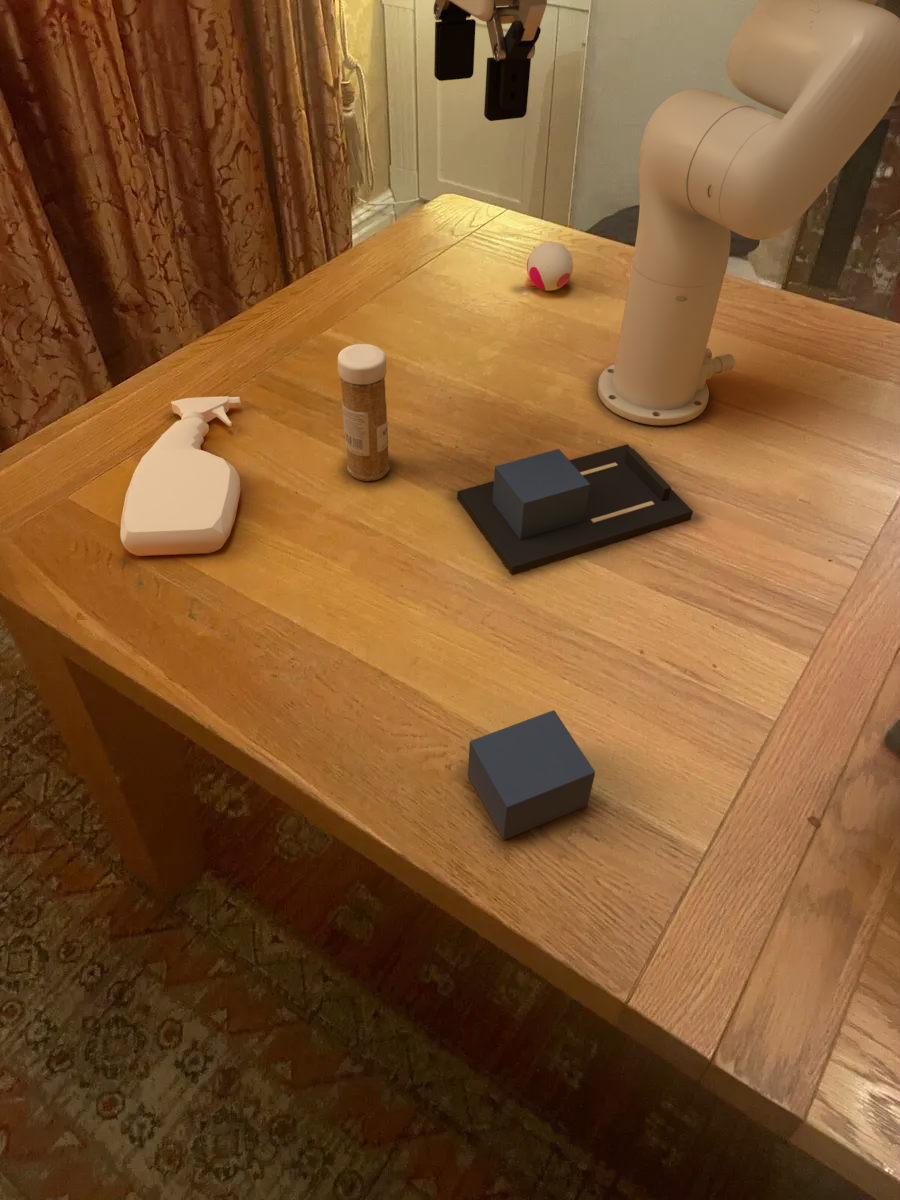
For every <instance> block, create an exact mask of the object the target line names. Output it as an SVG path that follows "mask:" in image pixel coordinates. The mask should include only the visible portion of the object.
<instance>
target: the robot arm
mask: <svg viewBox="0 0 900 1200" xmlns="http://www.w3.org/2000/svg"><path fill="white" fill-rule="evenodd" d="M877 2H878V0H758V1H757V2H756V3H755V4H754V6H753V8H752V9H751V11H750V12H749V13H748V15H747V16H746V17H745V19H744V20H743V22H742V23H741V25H740V26H739V28H738V30H737V31H736V33H735V34H734V36H733V38H732V40H731V43H730V45H729V47H728V51H727V54H726V61H725V62H726V65H725V66H726V73H727V76H728V78H729V80H730V83H731V84H732V86H734V87H735V88H736V90H737V91H739V92H740V93H741V94H742V95H744V96H746V97H748V98H749V99H751V100H753V101H754V102H757V103H759V104H761V105H763V106H765V107H767V108H770V109H772V110H775V111H778V112H780V113H782V114H784V116H783V117H782V118H778V117H777V116H774V115H771V114H768V113H766V112H764V111H761V110H760V109H757V108H756V107H754V106H751V105H749V104H746V103H744V102H741V101H739V100H737V99H735V98H732V97H730V96H726V95H725V94H722V93H719V92H716V91H711V90H708V89H707V90H706V89H697V88H696V89H688V90H687V89H686V90H682V91H680V92H677V93H675V94H672V95H671V96H669V97H668V98H666V99H665V100H663V102H662V103H660V105H659V106H658V107H657V108H656V109H655V110H654V111H653V113H652V115H651V116H650V117H649V119H648V122H647V124H646V126H645V129H644V131H643V134H642V139H641V142H640V147H639V158H638V177H639V178H638V179H639V180H638V181H639V211H638V212H639V213H638V222H637V230H636V231H637V232H636V237H635V244H634V250H633V254H632V255H633V256H632V260H631V266H630V273H629V278H628V284H627V290H626V297H625V301H624V308H623V313H622V314H623V315H622V320H621V325H620V333H619V338H618V343H617V344H618V345H617V351H616V355H615V362H614V363H613V364H611V365H609V366H608V367H606V368H605V369H604V370H603V371H602V372H601V374H600V375H599V378H598V383H597V390H596V391H597V395H598V397H599V400H600V401H601V402H602V403H603V405H604V406H605V407H606V408H607V409H609V410H610V411H611V412H612V413H614V414H616V415H617V416H620V417H621V418H623V419H625V420H629V421H632V422H635V423H639V424H643V425H650V426H672V425H673V426H674V425H679V424H683V423H687V422H689V421H692V420H694V419H695V418H697V417H699V416H700V415H702V413H703V412H704V411H705V410H706V408H707V406H708V402H709V397H710V390H709V387H708V385H707V383H706V381H707V380H709V379H711V378H712V377H713V376H714V375H715V374H723V373H726V372H730V371H733V370H734V368H735V365H736V361H735V358H734V355H732V354H731V353H726V354H722V355H718V356H715V357H713V358H712V356H713V354H712V352H713V351H712V349H711V348H709V347H708V344H709V341H710V340H709V339H710V335H711V332H712V327H713V324H714V320H715V315H716V311H717V307H718V302H719V299H720V295H721V291H722V286H723V283H724V280H725V279H724V278H725V275H726V272H727V268H728V264H729V259H730V253H731V239H732V238H731V236H732V235H731V232H733V233H735V234H737V235H740V236H742V237H744V238H747V239H750V240H754V241H764V240H769V239H773V238H775V237H777V236H779V235H782V233H784V232H786V231H787V230H788V229H789V228H791V227H792V226H793V225H794V224H795V223H796V222H797V221H798V220H799V219H800V218H801V217H802V216H803V215H804V214H805V213H806V212H807V210H809V209H810V207H811V206H812V205H813V203H815V201H816V200H817V199H818V198H819V196H821V194H822V193H823V191H824V190H825V189H826V188H827V187H828V186H829V184H830V183H831V182H832V180H833V179H834V178H835V177H836V176H837V175H838V173H839V172H840V171H841V170H842V168H843V167H844V166H845V165H846V164H847V162H848V161H849V160H850V159H851V157H852V156H853V155H854V154H855V153H856V152H857V150H858V149H859V148H860V147H861V146H862V144H863V143H864V142H865V140H866V139H867V138H868V137H869V136H870V134H871V133H872V132H873V131H874V129H875V128H876V127H877V126H878V124H879V123H880V122H881V120H882V119H883V118H884V117H885V115H886V114H887V113H888V110H889V109H890V107H891V105H892V104H893V102H894V101H895V99H896V97H897V95H898V93H899V91H900V17H898V16H897V15H896V14H895V13H893V12H891V11H890V10H887V9H885V8H883V7H881V6H877V5H876V3H877ZM547 4H548V0H434V3H433V17H434V20H435V21H434V61H433V62H434V66H433V68H434V69H433V75H434V78H435V79H436V80H437V81H439V82H444V81H445V82H446V81H454V80H455V81H456V80H465V79H471V78H472V77H473V76H474V70H475V69H474V68H475V48H476V47H475V46H476V27H477V21H476V20H475V19H474V18H476V19H478V20H480V21H482V22H485V24H486V26H487V27H486V28H487V32H488V33H487V34H488V37H489V43H490V47H491V51H492V56H493V57H492V56H491V57H486V71H485V73H486V74H485V91H484V92H485V93H484V108H483V109H484V110H483V116H484V118H485V119H486V120H488V121H490V122H495V121H505V120H514V119H523V118H524V117H525V116H526V114H527V113H528V112H527V110H528V100H529V87H530V75H531V63H532V59H533V58H534V56H535V54H536V43H537V42H538V40H539V38H540V36H541V31H542V30H541V29H542V28H541V24H542V21H543V18H544V15H545V12H546V9H547ZM471 16H473V17H474V18H471ZM508 24H510V26H509V27H508V30H507V31H506V33H505V34H504V30H503V25H508Z"/></svg>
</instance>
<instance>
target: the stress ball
mask: <svg viewBox="0 0 900 1200" xmlns="http://www.w3.org/2000/svg"><path fill="white" fill-rule="evenodd" d="M573 270H574V261H573V257H572V254H571V253H570V251H569V250H568V248H567V247H565V246H564V245H563V244H561V243H559V242H556V241H545V242H542V243H540V244H538V245H537V246H536V247H535V246H533V249H532V250H531V252H530V253H529V255H528V257H527V262H526V272H527V275H528V278H529V280H530V281H531V283H532V284H533V285H528V286H522V287H521V288H522V289H523V288H524V289H525V288H538V289H540V290H543V291H546V292H547V291H548V292H549V291H550V292H551V291H555V290H558V289H560V288H563V287H564V286H566V287H567V288H568V281H570V279H571V277H572V274H573Z"/></svg>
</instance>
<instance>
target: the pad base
mask: <svg viewBox="0 0 900 1200" xmlns="http://www.w3.org/2000/svg"><path fill="white" fill-rule="evenodd" d="M493 474H494V475H493V481H488V482H485V483H482V484H478V485H475V486H471V487H467V488H464V489H461V490H457V500H458V502H459V504H460V505H461V506H462V507H463V508H464V510H465V512H466V513H467V515H468V516H469V517H470V518H471V520H472V521H473V523H474V524H475V526H476V527H477V528H478V530H479V531H480V532H481V534H482V535H483V536H484V538H485V539H486V541H487V542H488V545H490V546H491V548H492V549H493V551H494V552H495V553H496V555H497V556H498V558H499V559H500V561H501V562H502V563H503V565H504V566H505V568H506V569H507V570H508V572H509V573H510V575H515V574H518V573H523V572H525V571H528V570H531V569H534V568H537V567H538V568H539V567H541V566H544V565H547V564H550V563H553V562H556V561H560V560H563V559H566V558H570V557H573V556H576V555H579V554H582V553H586V552H589V551H591V550H595V549H599V548H602V547H604V546H605V547H606V546H609V545H612V544H614V543H618V542H620V541H621V542H622V541H624V540H627V539H630V538H634V537H636V536H639V535H643V534H646V533H650V532H652V531H656V530H660V529H663V528H665V527H668V526H672V525H675V524H679V523H681V522H684V521H688V520H691V519H692V516H693V512H694V511H693V509H691V508H690V506H689V505H688V504H687V503H686V502H685V501H684V500H683V499H682V498H681V497H680V496H679V495H678V494H677V493H676V492H675V491H674V490H673V489H672V486H671V485H669V483H667V481H666V480H665V479H664V478H663V477H662V476H661V475H660V474H659V473H658V472H657V471H656V470H655V469H654V468H653V467H652V466H651V465H650V464H649V463H648V461H646V460H645V459H644V457H642V456H641V455H640V454H639V453H638V452H637V450H635V448H632V446H630V445H629V444H627V443H626V444H624V445H623V444H622V445H620V446H616V447H612V448H608V449H604V450H601V451H597V452H593V453H591V454H587V455H583V456H581V457H580V456H579V457H576V458H573V459H568V457H567V456H566V455H565V454H564V452H562V451H561V450H560V448H556V449H552V450H549V451H546V452H541V453H539V454H534V455H530V456H527V457H523V458H520V459H519V458H518V459H516V460H512V461H509V462H504V463H500V464H497V465H494V472H493Z"/></svg>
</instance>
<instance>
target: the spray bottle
mask: <svg viewBox="0 0 900 1200" xmlns="http://www.w3.org/2000/svg"><path fill="white" fill-rule="evenodd" d="M170 404H171V410H172V413H174V414H176V415H178V416H179V417H180V419H179V420H176V421H175V422H173V424H172V425H170V427H169V428H168V429H167V430H166V431H165V432H164V433H163V434H161V436H160V437H159V438H158V439H157V440H156V442H154V444H153V445H152V446H151V447H150V448H149V449H148V451H147V452H146V453H145V454H144V455H142V457H141V459H140V461H139V463H138V464H137V466H136V468H135V470H134V471H133V474H132V477H131V479H130V482H129V486H128V488H127V490H126V493H125V497H124V502H123V507H122V512H121V517H120V531H119V537H120V538H119V539H120V541H121V543H122V545H123V548H125V549H126V551H128V552H129V553H130V554H132V555H135V556H136V557H147V556H149V557H150V556H171V555H173V556H174V555H197V554H199V555H201V554H212V553H215V552H217V551H219V550H220V549H221V548H223V547H224V545H225V543H226V542H227V540H228V538H229V537H230V534H231V532H232V529H233V526H234V523H235V520H236V517H237V512H238V508H239V507H238V506H239V501H240V497H241V491H242V490H241V477H240V474H239V472H238V471H237V470H236V468H235V467H234V466H233V465H232V464H231V463H230V462H228V461H227V460H225V459H224V458H223V457H221V456H217V455H215V454H213V453H210V452H208V451H205V450H203V449H202V447H201V446H202V444H203V443H204V437H206V435H207V434H208V433H209V432H210V425H209V424H208V423H209V422H210V421H212V420H214V419H216V418H218V419H219V420H220V421H222V423H224V424H225V425H226V426H228V427H232V426H233V423H232V421H231V420H230V419H229V417H228V415H227V414H226V413H228V412H229V410H230V408H236V407H242V402H241V397H240V396H229V395H225V396H220V395H219V396H199V397H198V396H197V397H186V398H179V399H177V400H172V401H170Z"/></svg>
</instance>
